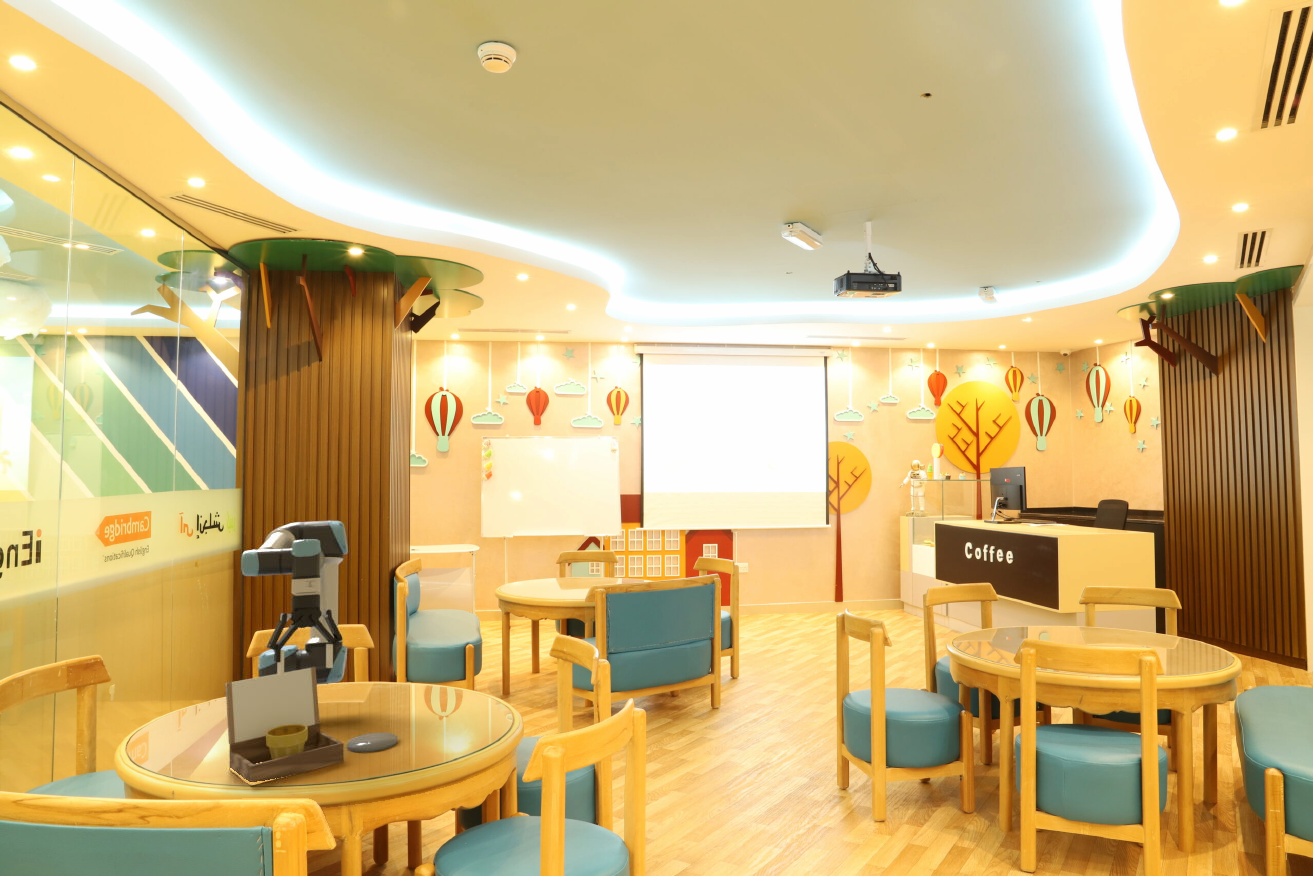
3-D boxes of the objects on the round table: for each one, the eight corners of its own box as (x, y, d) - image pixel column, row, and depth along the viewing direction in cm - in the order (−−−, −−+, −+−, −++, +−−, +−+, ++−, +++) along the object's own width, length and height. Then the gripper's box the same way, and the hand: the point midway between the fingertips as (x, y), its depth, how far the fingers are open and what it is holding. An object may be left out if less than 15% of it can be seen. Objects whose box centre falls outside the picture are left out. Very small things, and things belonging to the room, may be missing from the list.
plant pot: (291, 773, 215) (291, 736, 216) (257, 772, 217) (257, 735, 218) (315, 760, 225) (315, 724, 226) (282, 758, 228) (282, 723, 228)
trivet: (338, 745, 238) (338, 741, 238) (384, 733, 248) (384, 729, 248) (359, 756, 228) (359, 751, 228) (406, 743, 238) (406, 739, 238)
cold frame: (229, 770, 219) (229, 744, 219) (318, 748, 236) (318, 723, 236) (250, 786, 207) (250, 758, 207) (343, 761, 224) (343, 735, 224)
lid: (225, 741, 222) (225, 682, 223) (314, 721, 239) (313, 666, 239) (230, 744, 219) (230, 684, 220) (319, 724, 236) (319, 668, 237)
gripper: (265, 597, 219) (264, 678, 216) (354, 590, 237) (354, 665, 234) (255, 597, 225) (253, 676, 222) (342, 591, 242) (342, 664, 239)
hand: (305, 671), depth 228 cm, fingers open, 13 cm apart
